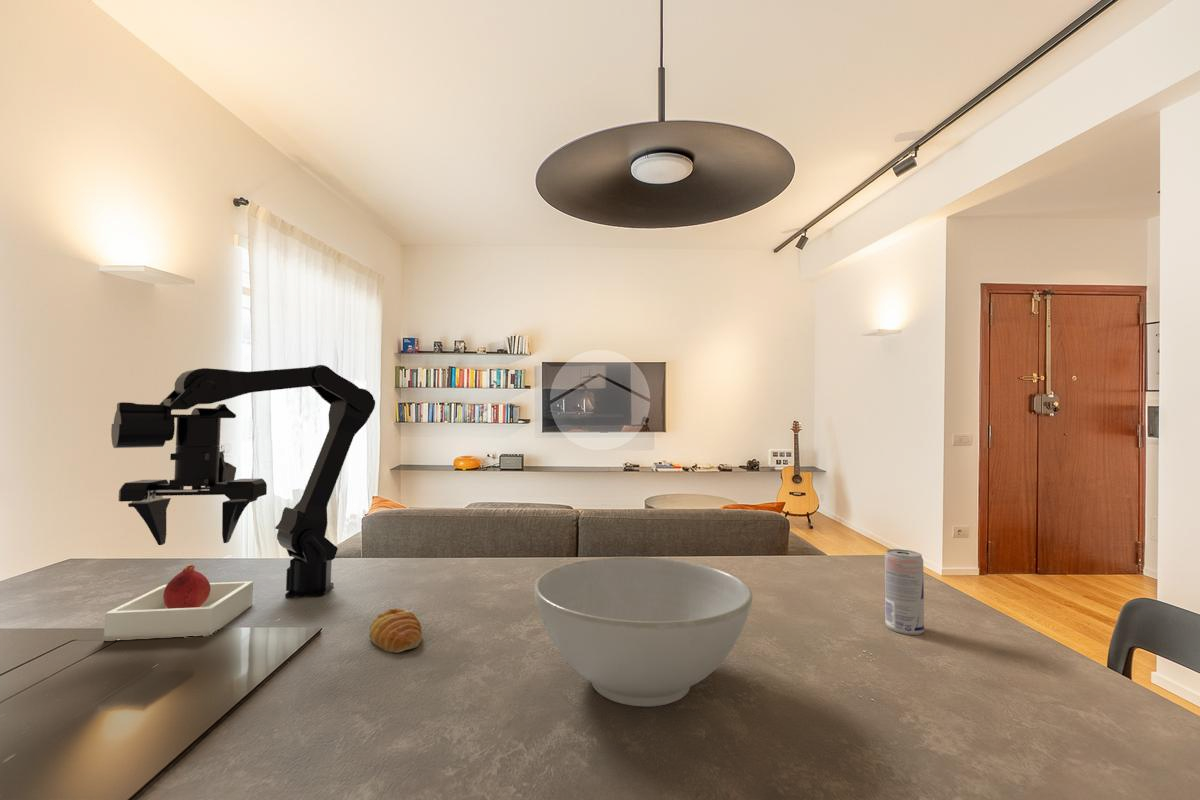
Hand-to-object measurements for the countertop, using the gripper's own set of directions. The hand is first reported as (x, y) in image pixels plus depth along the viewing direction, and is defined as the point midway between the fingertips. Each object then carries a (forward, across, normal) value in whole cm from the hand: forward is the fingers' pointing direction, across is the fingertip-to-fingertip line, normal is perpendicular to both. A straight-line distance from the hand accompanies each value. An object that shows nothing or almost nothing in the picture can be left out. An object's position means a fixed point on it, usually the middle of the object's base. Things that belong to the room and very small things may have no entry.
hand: (194, 543), depth 86 cm
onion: (+11, 0, +1) cm, 11 cm away
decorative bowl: (+12, -66, +32) cm, 74 cm away
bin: (+12, 0, +1) cm, 12 cm away
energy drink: (+12, -112, +22) cm, 114 cm away
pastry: (+12, -34, +14) cm, 39 cm away
